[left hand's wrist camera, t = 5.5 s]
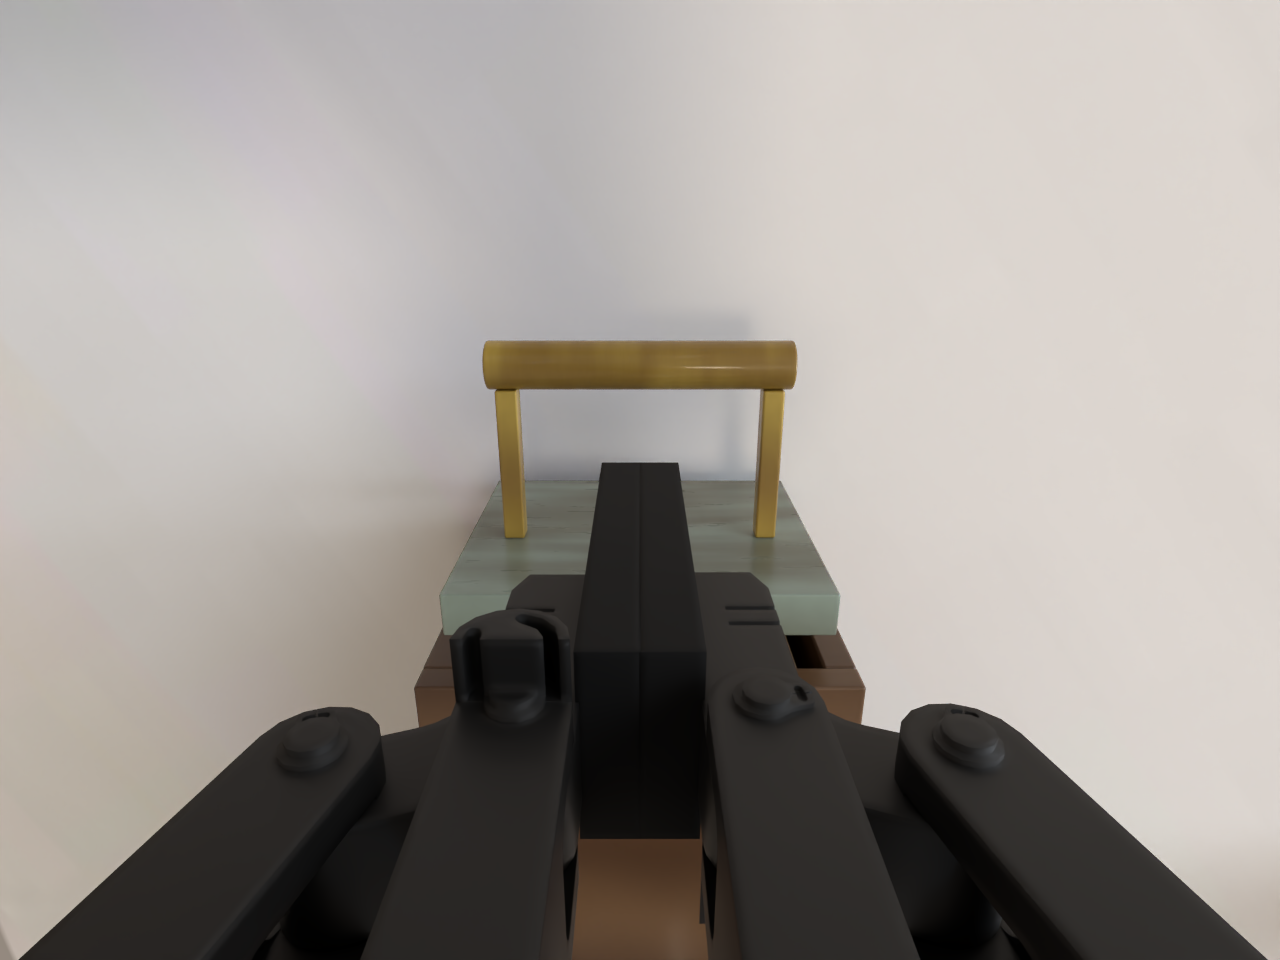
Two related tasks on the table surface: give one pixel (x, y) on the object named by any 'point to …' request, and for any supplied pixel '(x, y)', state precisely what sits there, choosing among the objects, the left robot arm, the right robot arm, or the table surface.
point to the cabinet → (652, 868)
